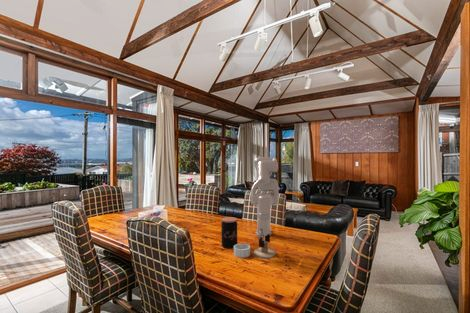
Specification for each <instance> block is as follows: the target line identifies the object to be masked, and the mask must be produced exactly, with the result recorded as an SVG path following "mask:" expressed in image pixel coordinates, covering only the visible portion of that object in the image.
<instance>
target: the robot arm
mask: <svg viewBox="0 0 470 313" xmlns="http://www.w3.org/2000/svg"><path fill="white" fill-rule="evenodd" d="M253 164H254V165H253V166H254V167H255V171H256V173H257V175H256V176H257V179H256V181H255V182H254V183H253V184H252V186H251V189H250V203H251V205H252V206H256V209H257V210H256V211H257V212H256V216H257V217H256V223H257V224H256V225H257V227H256V228H257V229H256V231H255V235H257V236H258V247H259V248H261V247H264V241H267V242H268V243H271V235H272V231H271V206H278V205H279V198H280V197H279V196H280V195H279V194H280V193H279V181H278V180H277V179H274V178H271V176H270V173H277V172H278V170H279V163H278V160H277V158H276V157H272V156H269V157H268V156H259V157H258V156H257V157H255V158H254V159H253ZM257 189H258V191H260V192H259V193H256V191H257Z"/></svg>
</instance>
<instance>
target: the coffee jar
mask: <svg viewBox="0 0 470 313" xmlns="http://www.w3.org/2000/svg"><path fill="white" fill-rule="evenodd" d="M236 244H238V218H237V217H233V216H228V217H227V216H226V217H223V218H221V246H222V248H225V249H234V245H236Z"/></svg>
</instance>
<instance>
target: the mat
mask: <svg viewBox="0 0 470 313" xmlns="http://www.w3.org/2000/svg"><path fill="white" fill-rule="evenodd" d="M274 251H275V253H276V252H277V251H276V250H274ZM252 257H255V258H260V257H257V256H256V255H254V254H253V255H252ZM260 259H261V258H260ZM262 259H263V260H270V258H262Z"/></svg>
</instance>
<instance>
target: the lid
mask: <svg viewBox="0 0 470 313" xmlns="http://www.w3.org/2000/svg"><path fill="white" fill-rule="evenodd" d="M268 245H269V242H267V241H265V240H264V247H259V248H256V249H254V251H253V255H256V256H257V257H256V258H258V257H260V259H263V258H269V259H271V258H274V257H275V256H276V252H275V251H276V250H274V249H273V248H270V247H269V246H268Z"/></svg>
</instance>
